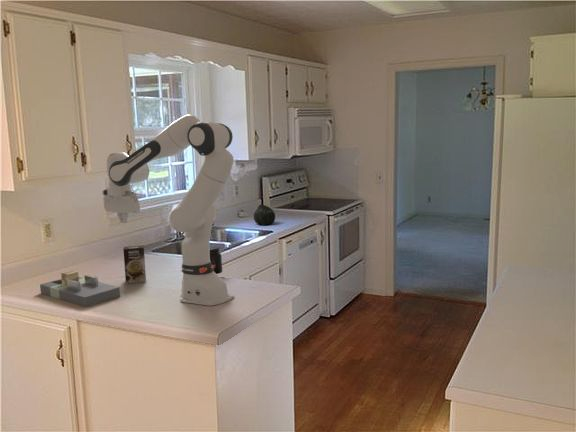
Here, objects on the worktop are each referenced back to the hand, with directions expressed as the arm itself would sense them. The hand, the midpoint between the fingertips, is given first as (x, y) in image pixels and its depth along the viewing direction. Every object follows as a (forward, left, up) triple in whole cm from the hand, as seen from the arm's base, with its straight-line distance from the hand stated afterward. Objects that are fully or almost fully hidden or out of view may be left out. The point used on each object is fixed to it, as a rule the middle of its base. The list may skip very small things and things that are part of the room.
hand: (123, 222), depth 231 cm
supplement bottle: (-15, -39, -29) cm, 51 cm away
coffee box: (+6, -9, -29) cm, 31 cm away
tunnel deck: (+10, +17, -29) cm, 35 cm away
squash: (+46, -150, -29) cm, 159 cm away
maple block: (+17, +17, -25) cm, 35 cm away
